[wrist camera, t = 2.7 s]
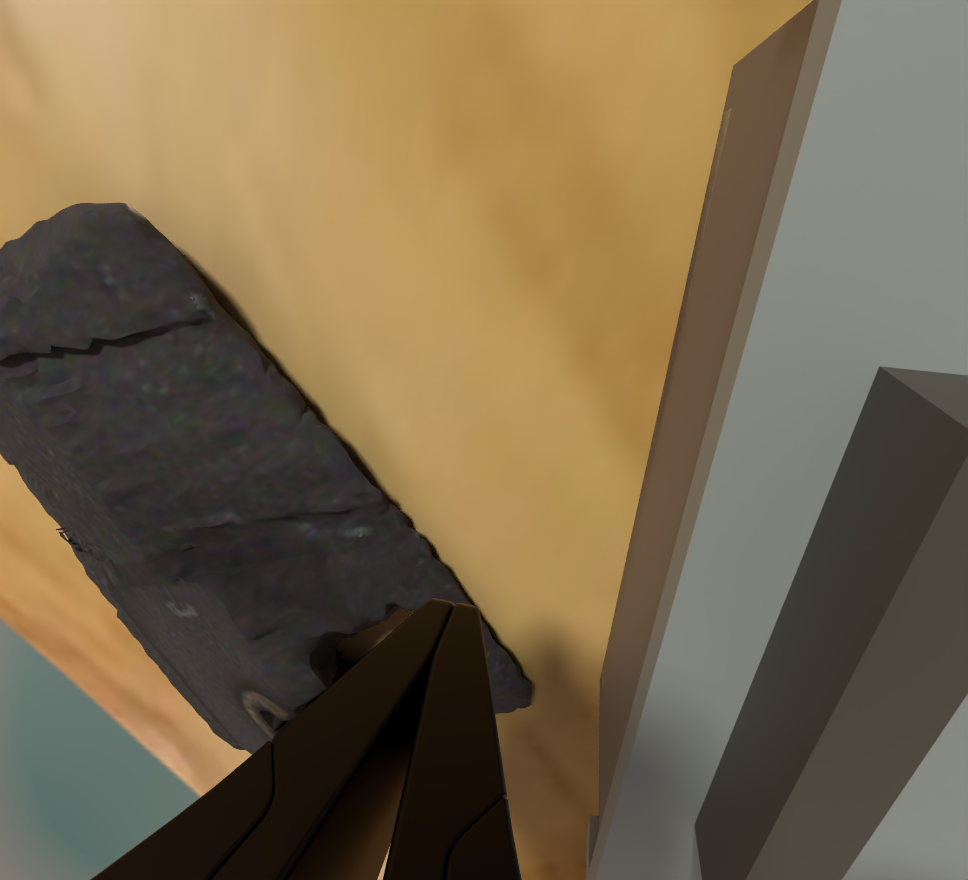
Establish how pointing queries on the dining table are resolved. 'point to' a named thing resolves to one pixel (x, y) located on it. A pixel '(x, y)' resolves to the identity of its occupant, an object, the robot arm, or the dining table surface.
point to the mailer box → (698, 355)
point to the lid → (826, 505)
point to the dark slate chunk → (198, 477)
